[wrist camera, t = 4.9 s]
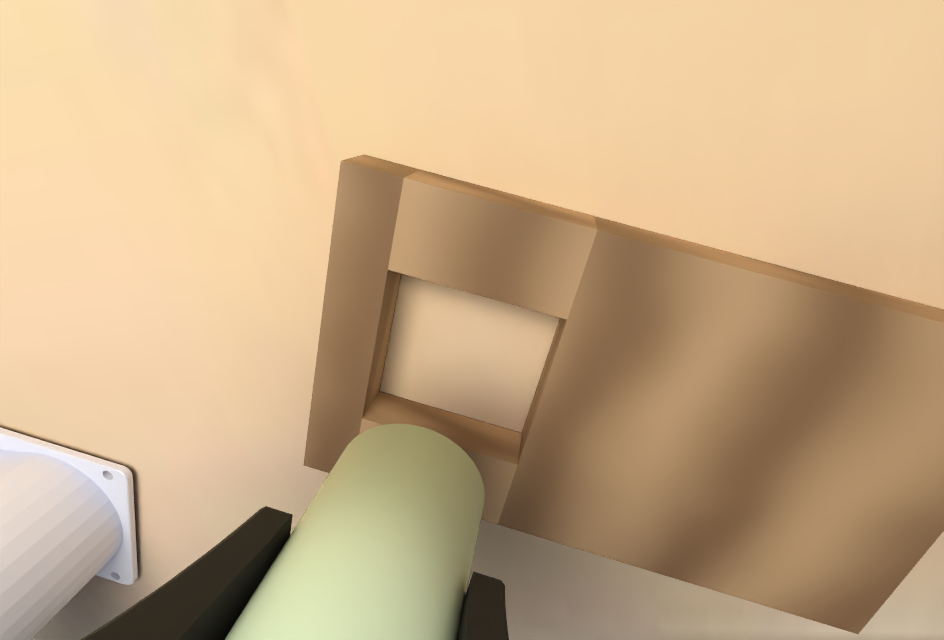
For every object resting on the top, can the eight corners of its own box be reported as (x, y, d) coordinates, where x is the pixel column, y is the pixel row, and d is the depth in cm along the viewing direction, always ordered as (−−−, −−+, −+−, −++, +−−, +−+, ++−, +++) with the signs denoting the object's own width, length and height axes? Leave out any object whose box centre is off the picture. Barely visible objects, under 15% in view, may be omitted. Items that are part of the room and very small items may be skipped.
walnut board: (324, 435, 23) (303, 465, 21) (364, 154, 18) (340, 160, 16) (833, 588, 21) (858, 634, 20) (1026, 332, 17) (1084, 361, 15)
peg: (329, 520, 15) (101, 925, 8) (348, 404, 13) (79, 782, 6) (465, 563, 15) (365, 1024, 7) (501, 450, 13) (420, 901, 6)
